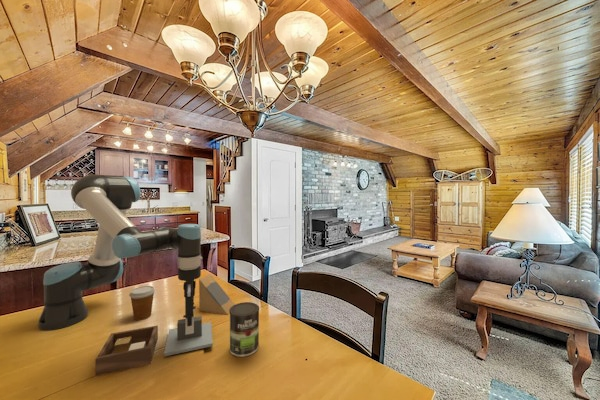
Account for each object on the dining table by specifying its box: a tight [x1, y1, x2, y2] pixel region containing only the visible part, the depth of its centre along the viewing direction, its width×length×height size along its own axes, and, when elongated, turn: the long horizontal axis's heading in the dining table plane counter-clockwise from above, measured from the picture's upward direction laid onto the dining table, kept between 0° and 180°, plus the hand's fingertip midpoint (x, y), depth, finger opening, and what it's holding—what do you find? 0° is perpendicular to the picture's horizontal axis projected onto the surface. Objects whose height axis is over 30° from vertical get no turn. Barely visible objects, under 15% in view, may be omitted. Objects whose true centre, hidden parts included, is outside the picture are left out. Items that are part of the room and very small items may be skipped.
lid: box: [163, 315, 214, 357], centre depth 90 cm, size 15×15×7 cm
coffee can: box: [229, 301, 260, 358], centre depth 87 cm, size 10×10×14 cm
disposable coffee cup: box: [128, 285, 156, 321], centre depth 108 cm, size 10×10×12 cm
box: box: [94, 325, 159, 377], centre depth 81 cm, size 14×14×6 cm
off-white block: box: [128, 341, 146, 351], centre depth 80 cm, size 4×4×4 cm
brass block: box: [114, 336, 132, 353], centre depth 82 cm, size 4×4×4 cm
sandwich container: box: [198, 273, 236, 316], centre depth 116 cm, size 9×15×15 cm, turn 75°
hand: (189, 330), depth 90 cm, fingers open, 3 cm apart
